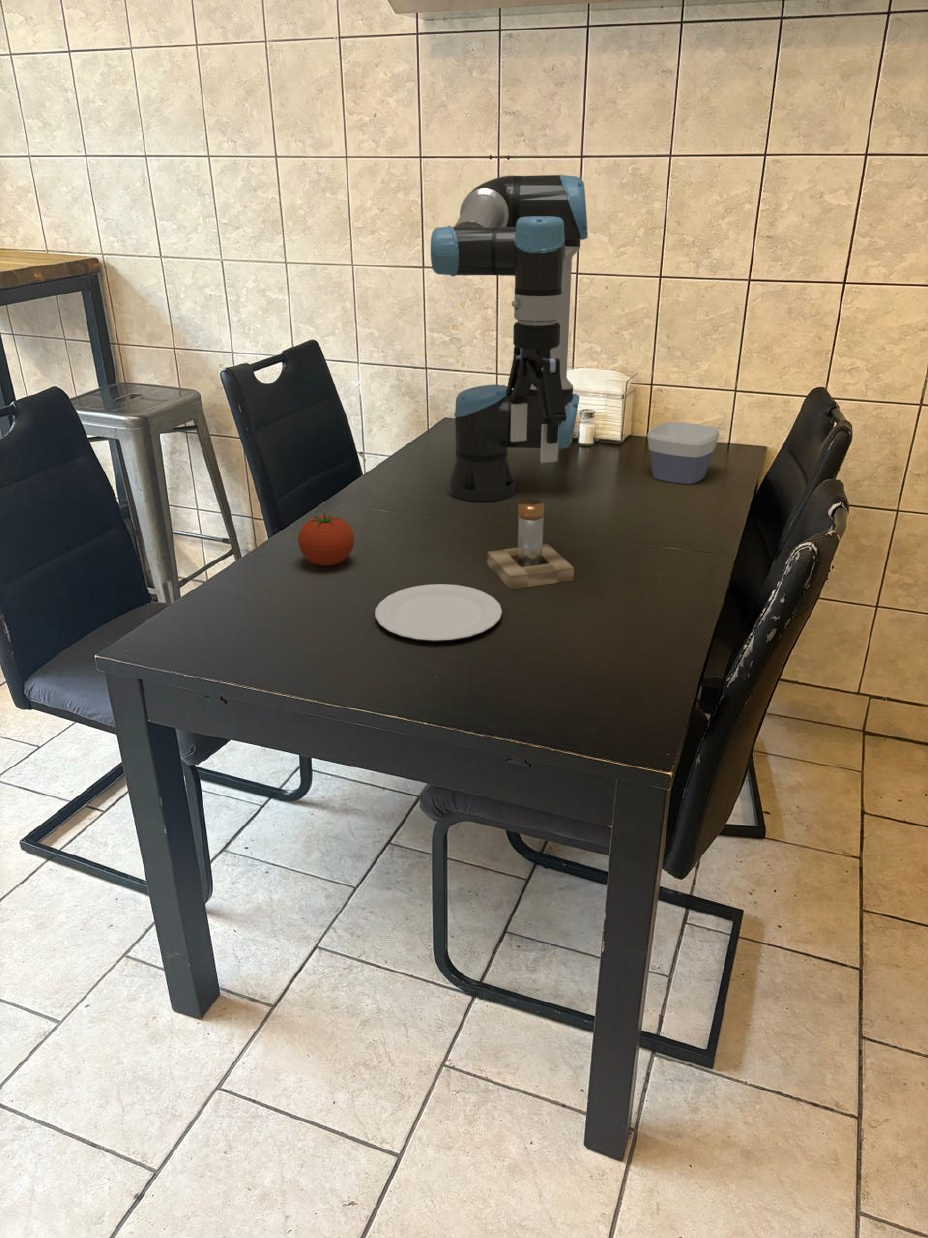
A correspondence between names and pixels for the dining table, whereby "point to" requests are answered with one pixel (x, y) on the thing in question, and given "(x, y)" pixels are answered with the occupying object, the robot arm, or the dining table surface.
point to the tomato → (326, 540)
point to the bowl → (681, 451)
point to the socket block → (530, 568)
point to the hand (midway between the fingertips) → (533, 450)
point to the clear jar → (530, 533)
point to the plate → (438, 612)
